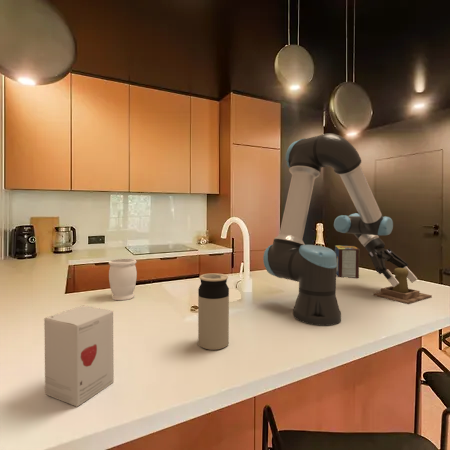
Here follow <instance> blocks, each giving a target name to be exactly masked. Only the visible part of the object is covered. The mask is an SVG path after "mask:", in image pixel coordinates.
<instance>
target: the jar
mask: <svg viewBox="0 0 450 450" xmlns="http://www.w3.org/2000/svg"><path fill="white" fill-rule="evenodd" d="M136 264H137V260H136V259H134V258H120V259H119V258H118V259H112V260H108V265H109V269H108V280H109V281H108V282H109V288H110V291H111V293H112V296H111V298H112V299H111V300H114V301H127V300H132V299H133V298H135V294H134V291H135V289H136V283H137V276H138V275H137V274H138V272H137V265H136Z"/></svg>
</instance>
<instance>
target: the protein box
mask: <svg viewBox="0 0 450 450" xmlns="http://www.w3.org/2000/svg"><path fill="white" fill-rule="evenodd" d="M334 247H335V248H334V252H335V253H336V261H337V267H336V277H337V278H344V277H348V278H349V279H359V277H360V275H359V274H360V248H359V247H356V246H355V245H334ZM348 278H347V279H348Z"/></svg>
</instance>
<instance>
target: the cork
mask: <svg viewBox="0 0 450 450" xmlns="http://www.w3.org/2000/svg"><path fill="white" fill-rule="evenodd" d="M393 276H394V277H395V278H396V279H397V281H398V282H399V284H398V285H396V286H395V287H393V291H396V292H400V293H409V291H408V289H409V285H408V284H409V283H408V278H407V276H408V270H407V269H405V268H399V267H395V268H394V269H393Z"/></svg>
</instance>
